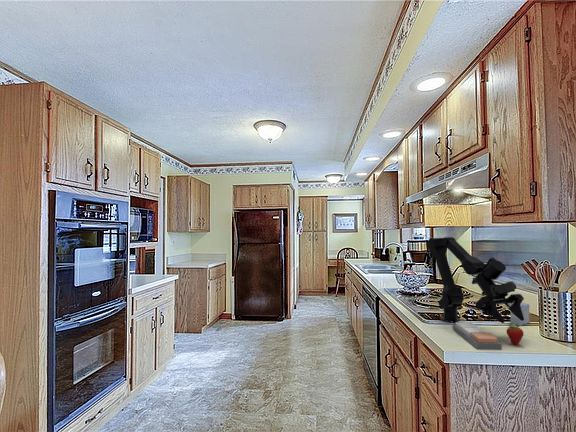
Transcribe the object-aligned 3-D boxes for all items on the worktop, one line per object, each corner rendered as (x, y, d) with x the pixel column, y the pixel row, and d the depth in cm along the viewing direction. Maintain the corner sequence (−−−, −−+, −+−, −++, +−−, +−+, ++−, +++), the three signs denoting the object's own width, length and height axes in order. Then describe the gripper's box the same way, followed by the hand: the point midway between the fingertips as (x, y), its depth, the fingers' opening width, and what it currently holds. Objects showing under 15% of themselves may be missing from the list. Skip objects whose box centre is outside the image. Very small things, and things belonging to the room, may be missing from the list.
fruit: (507, 341, 135) (507, 319, 135) (524, 344, 132) (524, 322, 132) (505, 344, 131) (505, 323, 131) (522, 347, 128) (522, 325, 128)
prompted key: (471, 338, 134) (471, 332, 134) (488, 338, 134) (488, 333, 134) (478, 344, 128) (478, 338, 128) (497, 344, 127) (497, 338, 127)
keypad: (453, 329, 150) (452, 322, 150) (473, 330, 149) (473, 322, 149) (477, 349, 127) (476, 340, 127) (501, 349, 126) (501, 340, 126)
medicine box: (518, 320, 162) (518, 301, 162) (529, 323, 158) (529, 303, 158) (510, 323, 157) (509, 304, 158) (521, 326, 154) (520, 306, 154)
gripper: (480, 275, 135) (506, 311, 124) (518, 273, 140) (547, 307, 129) (465, 292, 142) (488, 328, 131) (502, 289, 147) (527, 323, 137)
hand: (513, 321), depth 132 cm, fingers open, 9 cm apart
